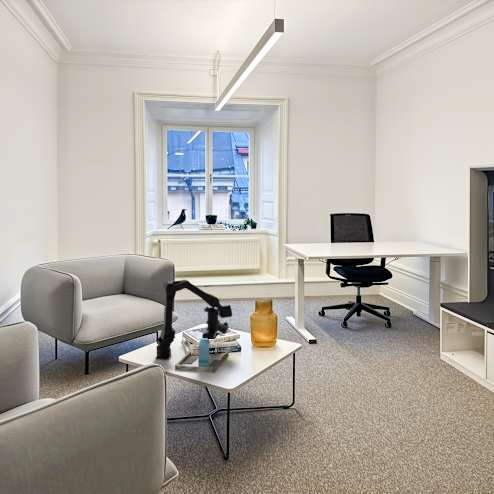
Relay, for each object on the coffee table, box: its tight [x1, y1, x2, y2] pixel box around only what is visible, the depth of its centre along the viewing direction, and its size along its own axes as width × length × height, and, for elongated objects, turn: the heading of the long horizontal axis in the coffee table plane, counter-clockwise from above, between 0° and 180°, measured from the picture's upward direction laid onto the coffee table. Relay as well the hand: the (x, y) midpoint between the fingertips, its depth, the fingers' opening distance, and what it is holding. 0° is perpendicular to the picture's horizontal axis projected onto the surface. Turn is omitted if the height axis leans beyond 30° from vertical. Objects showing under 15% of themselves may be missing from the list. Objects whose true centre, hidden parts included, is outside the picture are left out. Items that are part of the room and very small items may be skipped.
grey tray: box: [174, 350, 229, 374], centre depth 239 cm, size 20×26×2 cm
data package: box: [197, 338, 210, 367], centre depth 234 cm, size 12×4×12 cm, turn 0°
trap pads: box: [183, 356, 220, 367], centre depth 239 cm, size 17×9×1 cm, turn 77°
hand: (212, 346), depth 256 cm, fingers closed
